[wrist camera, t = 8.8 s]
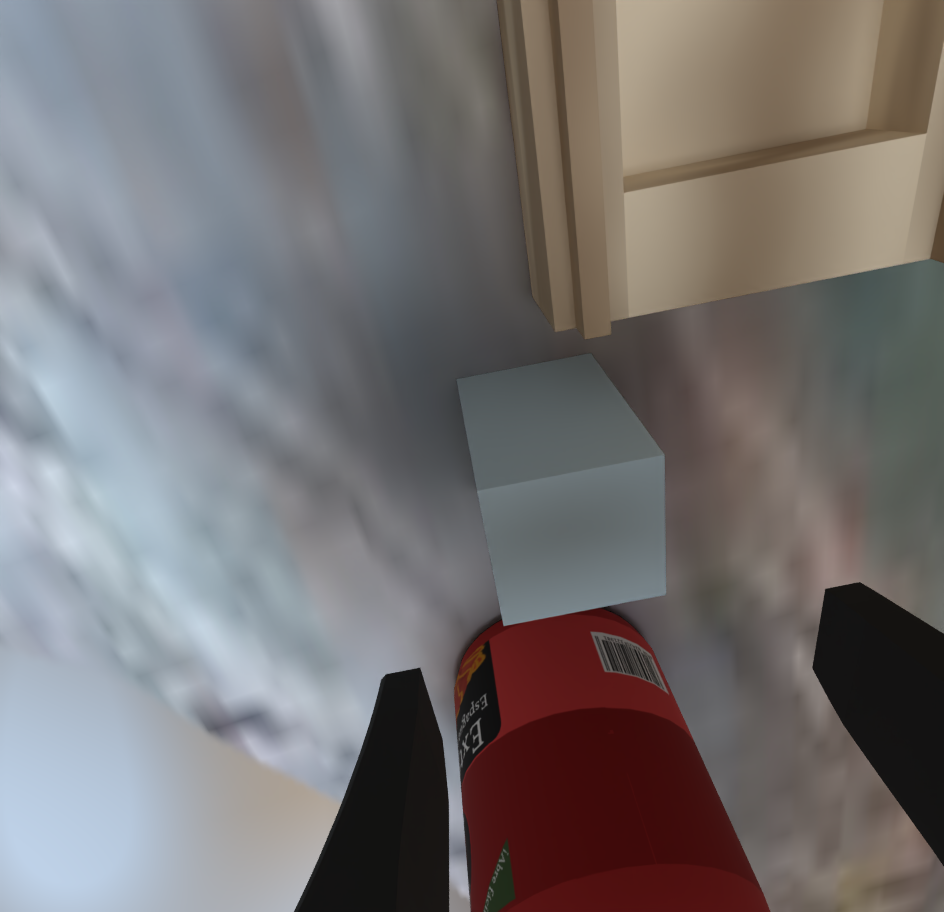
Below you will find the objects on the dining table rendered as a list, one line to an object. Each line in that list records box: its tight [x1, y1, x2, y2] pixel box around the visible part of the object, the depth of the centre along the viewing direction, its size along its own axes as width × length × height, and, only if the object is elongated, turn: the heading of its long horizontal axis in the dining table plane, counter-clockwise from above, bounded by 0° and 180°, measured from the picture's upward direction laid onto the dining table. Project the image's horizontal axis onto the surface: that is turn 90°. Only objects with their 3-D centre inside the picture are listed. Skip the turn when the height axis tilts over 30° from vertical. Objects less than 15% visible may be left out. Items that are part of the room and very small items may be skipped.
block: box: [456, 353, 666, 626], centre depth 17 cm, size 4×4×6 cm
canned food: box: [454, 608, 770, 912], centre depth 20 cm, size 8×8×11 cm
